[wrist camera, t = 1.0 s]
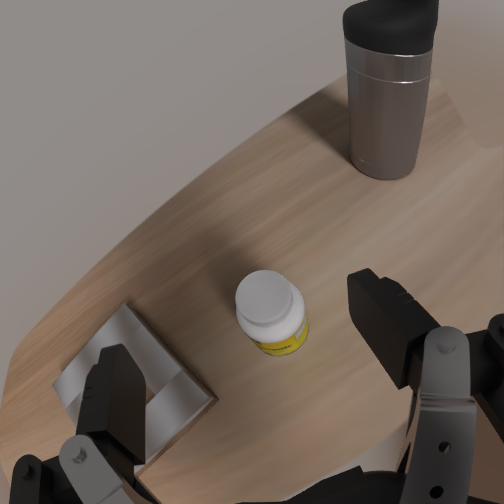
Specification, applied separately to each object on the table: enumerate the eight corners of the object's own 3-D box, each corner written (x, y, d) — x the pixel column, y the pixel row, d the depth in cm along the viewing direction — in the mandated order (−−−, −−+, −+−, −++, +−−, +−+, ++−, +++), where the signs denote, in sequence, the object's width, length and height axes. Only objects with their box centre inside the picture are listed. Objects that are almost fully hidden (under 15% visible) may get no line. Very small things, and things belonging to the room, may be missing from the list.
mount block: (138, 311, 35) (124, 302, 32) (219, 399, 28) (208, 396, 26) (68, 389, 32) (52, 384, 29) (132, 481, 25) (116, 484, 22)
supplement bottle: (245, 347, 30) (212, 316, 22) (266, 299, 32) (242, 251, 24) (297, 366, 28) (284, 342, 20) (317, 314, 30) (311, 269, 22)
